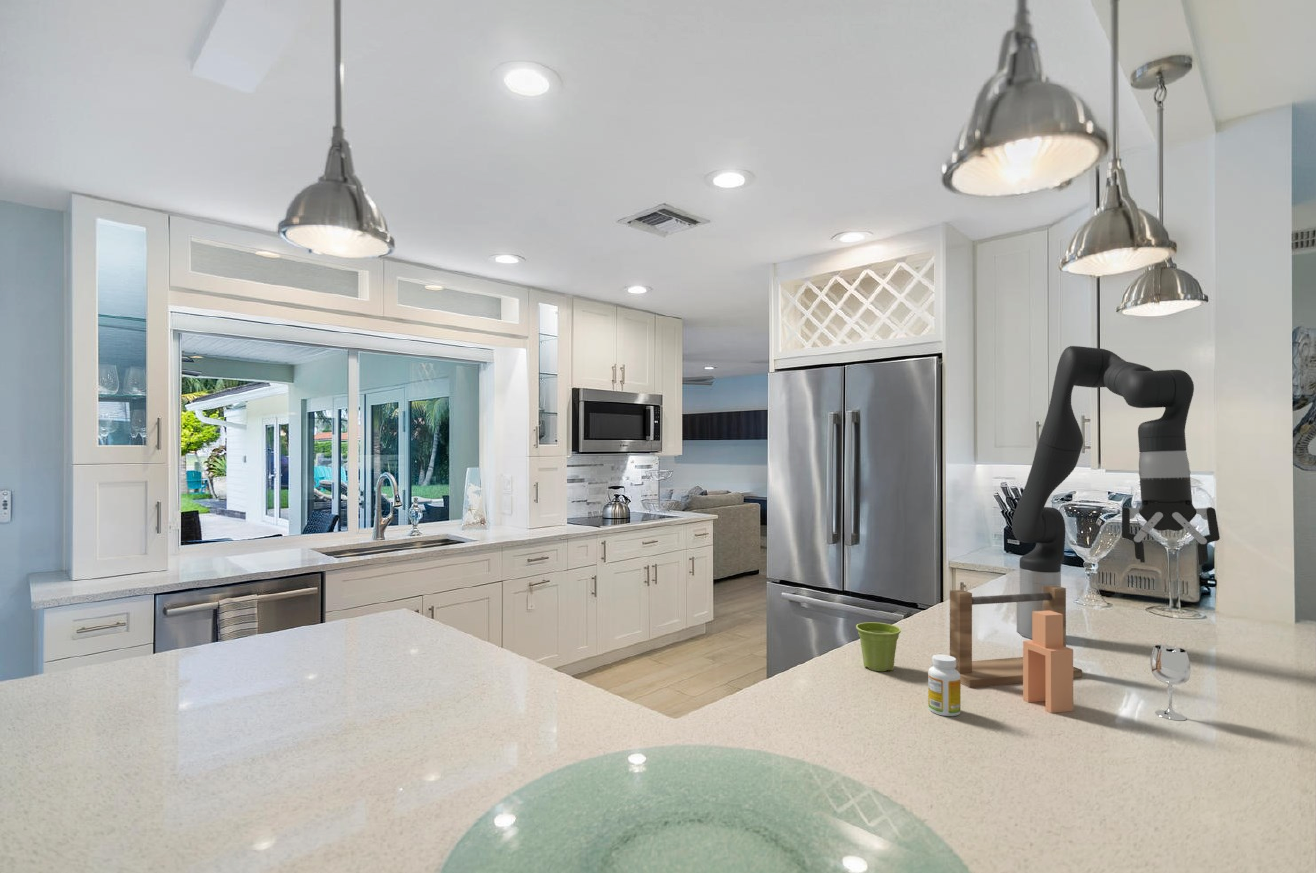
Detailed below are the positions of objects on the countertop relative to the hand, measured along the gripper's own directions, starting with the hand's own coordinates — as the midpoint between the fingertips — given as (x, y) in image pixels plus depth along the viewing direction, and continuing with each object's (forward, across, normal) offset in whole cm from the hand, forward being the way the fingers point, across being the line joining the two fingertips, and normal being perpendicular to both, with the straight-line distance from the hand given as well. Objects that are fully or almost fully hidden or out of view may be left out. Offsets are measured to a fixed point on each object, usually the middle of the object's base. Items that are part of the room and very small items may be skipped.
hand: (1171, 563), depth 121 cm
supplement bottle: (+26, +35, +26) cm, 51 cm away
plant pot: (+25, +52, +10) cm, 58 cm away
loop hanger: (+26, +20, +11) cm, 35 cm away
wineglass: (+27, +2, +3) cm, 27 cm away
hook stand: (+25, +29, -4) cm, 38 cm away
